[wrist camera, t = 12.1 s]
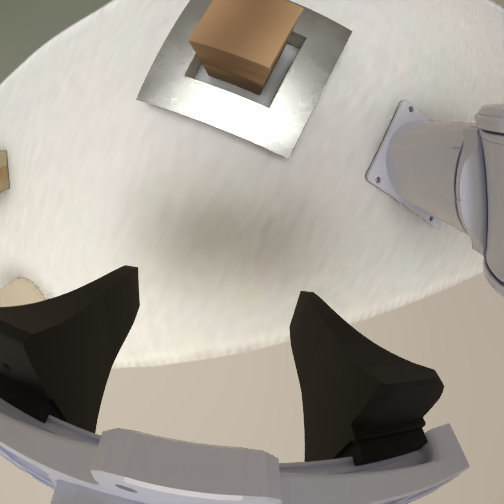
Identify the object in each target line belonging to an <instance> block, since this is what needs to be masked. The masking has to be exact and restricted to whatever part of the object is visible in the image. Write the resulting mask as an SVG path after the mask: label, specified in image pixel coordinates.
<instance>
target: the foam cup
mask: <svg viewBox="0 0 504 504" xmlns="http://www.w3.org/2000/svg"><path fill="white" fill-rule="evenodd" d="M44 300H45V298H44V296H43V294H42V293H41V291H40V290H39V289H38V288H37V287H36V286H35V285H34V283H33V282H31V281H29V280H27V279H26V278H18V279H17V280H14V281H13V282H11V283H9V284H8V285H6V286H5V287H3V288H1V289H0V307H9V306H19V305H26V304H31V303H36V302H40V301H44Z"/></svg>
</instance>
